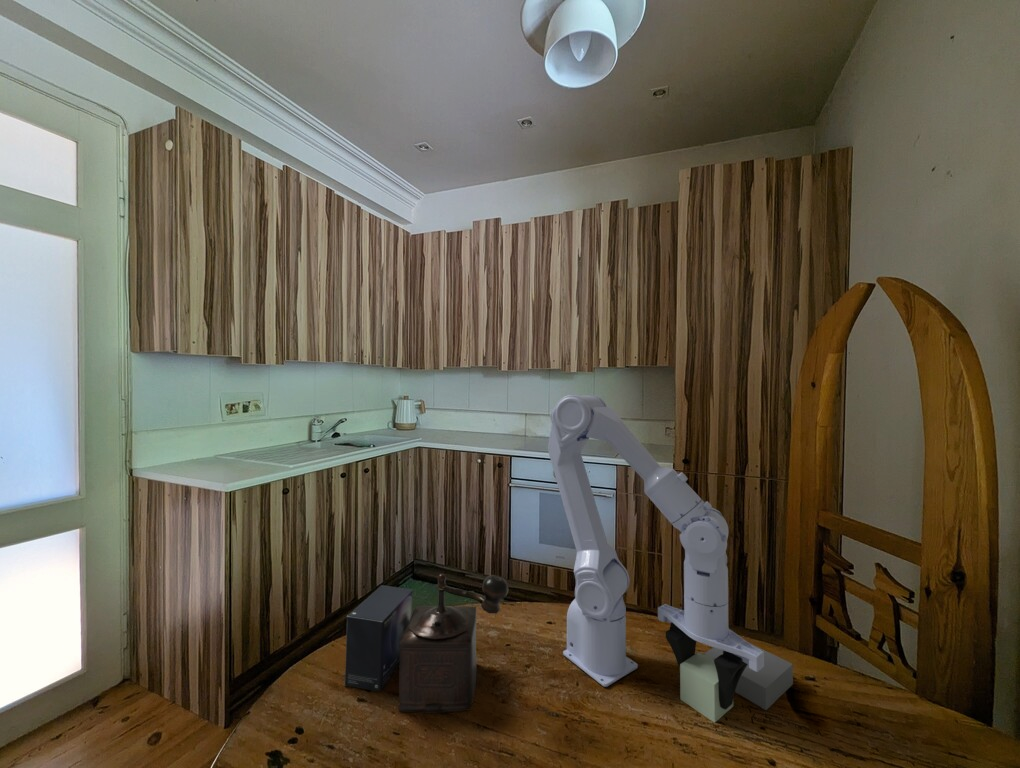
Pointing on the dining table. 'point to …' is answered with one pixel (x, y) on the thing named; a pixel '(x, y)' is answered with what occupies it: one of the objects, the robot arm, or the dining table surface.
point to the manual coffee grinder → (443, 651)
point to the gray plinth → (762, 679)
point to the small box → (376, 637)
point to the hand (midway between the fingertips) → (706, 692)
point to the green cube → (701, 686)
